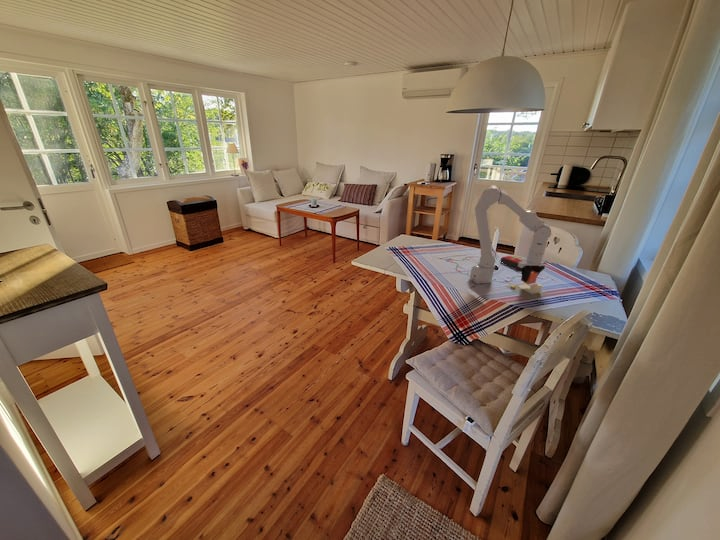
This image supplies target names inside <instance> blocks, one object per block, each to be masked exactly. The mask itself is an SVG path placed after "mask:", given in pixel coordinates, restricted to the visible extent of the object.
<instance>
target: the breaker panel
mask: <svg viewBox="0 0 720 540" xmlns="http://www.w3.org/2000/svg"><path fill="white" fill-rule="evenodd" d="M531 285H532V284H527V283H525V282H523V283H520V284H514V285H512V284H511V285H507V286H505V287H506V288H508V289H509V290H511V291H513V292H514V293H515V294H517V295H519V296H522V297H523V298H524V299H526V300H530V299H531V300H532V299H538V298H542V297H547V296H550V295H549V294H548V293H546V292H544V291H542V290H541V291H540V292H539V293H531V292H529V290H530V287H531Z"/></svg>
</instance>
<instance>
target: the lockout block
mask: <svg viewBox="0 0 720 540" xmlns="http://www.w3.org/2000/svg"><path fill="white" fill-rule="evenodd" d="M537 275H538V272H536V271H532V272H531V273H530V275H529V278H528V280H527V282H525V281H523V280H522V277H521V279H520V281H522V282H523V283H527V284H529V285H532V284H536V281H537V279H538V276H539V275H538V276H537Z"/></svg>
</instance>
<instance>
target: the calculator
mask: <svg viewBox="0 0 720 540" xmlns="http://www.w3.org/2000/svg"><path fill="white" fill-rule="evenodd" d="M526 259H527V257H523V256H520V255H517V254H512V255H507V256H501V258H500V260H499V261H501V262H503V263H504V264H503V263H502V264H503V265H505V264H506V265H505V266H507V265H508V266H507V267H510V268H512V267H513V269H515V270H517V271H519V270H520V272H521V269H520V267H518V263H519V262H521V261H524V260H526ZM530 268H531V266H530Z"/></svg>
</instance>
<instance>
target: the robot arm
mask: <svg viewBox="0 0 720 540" xmlns="http://www.w3.org/2000/svg"><path fill="white" fill-rule="evenodd" d="M495 203H497V205H505V206H506V207H507V208H509V209H510V210H511V211H512V212H513V213H514V214H516V215H517V216H518V217H519V218H518V221H519V223H521V224H522V225H524V227H526V228H527V229H528V230H529V231H530V232H533V236H532V239H531V241H530V243H529V248H528V252H527V256H526V260H524V261H521V262H519V263H518V267H520V269H521V271H520V272H521V278H522V280H523V281H525V282H527V280H528V278H529V275H530V273H531V272H532V271H536V272H538V275H537V277H538V276H539V275H540V274H541V272H542V271H543V270H545V268H546V266H545V265H548V263H549V259H547V258H544V254H545V251H546V249H547V244H548V240H549V238H550V237H551V236H552V229H551V228H550V225H549V224H548V222H546V221H545V220H544V219H541V218H540V217H539V216H538V215H537V212H536V211H535V210H534V211H532V210H526V209H525V208H524V207H523V206H522V205H520V204H519V203H518V202H517V201H516V200H515V199H514V198H513V197H512V196H511V195H510V193H509V194H508V192H506V191H505V190H503V188H502V189H501V187H499V186H498V185H492V184H491V185H489V186H488V187H487V188H486V189H484V191H483V192H482V193H481V196H480V197H479V199H478V201H477V204H476V205H475V207H474V211H475V214H474V215H475V219H476V225H477V230H478V238H479V244H480V246H479V247H480V258H479V261H478V262H477V264H476V265H475V266H474V265H473V266H472V268H471V270H470V275H469V278H468V281H471V280H472V282H474V283H476V284H484V283H485V284H487V283H489V284H490V283H491V282H492V280H493V277H494V271H495V267H496V264H495V263H496V257H497V253H496V251H495V249H494V248H493V244H492V237H491V230H490V223H489V217H488V212H487V211H488V210H489V209H490V208H491V206H492V205H494V204H495ZM530 266H531V268H530ZM523 281H522V282H523ZM525 282H524V283H525Z"/></svg>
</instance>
